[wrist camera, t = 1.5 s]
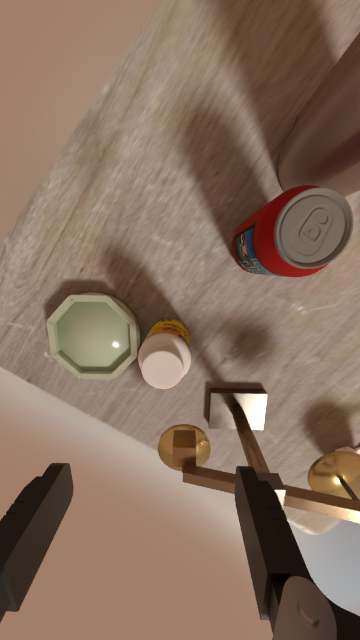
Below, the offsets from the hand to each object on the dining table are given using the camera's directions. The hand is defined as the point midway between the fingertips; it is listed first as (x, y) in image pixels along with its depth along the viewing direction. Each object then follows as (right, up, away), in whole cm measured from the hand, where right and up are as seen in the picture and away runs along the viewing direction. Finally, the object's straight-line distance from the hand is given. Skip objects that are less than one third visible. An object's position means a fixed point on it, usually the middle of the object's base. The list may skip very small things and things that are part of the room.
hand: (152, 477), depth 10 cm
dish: (-10, +5, +20) cm, 23 cm away
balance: (+10, -6, +22) cm, 25 cm away
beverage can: (+11, +17, +17) cm, 26 cm away
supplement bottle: (0, +5, +20) cm, 20 cm away
